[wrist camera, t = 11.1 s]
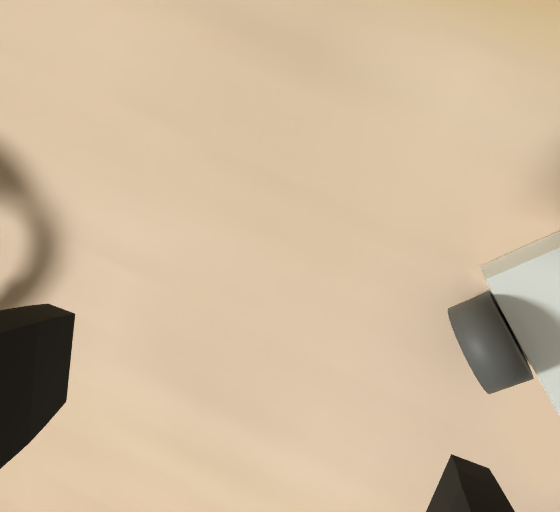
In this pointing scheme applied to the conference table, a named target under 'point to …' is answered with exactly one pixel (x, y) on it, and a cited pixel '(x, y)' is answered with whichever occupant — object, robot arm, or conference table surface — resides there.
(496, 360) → the trolley deck
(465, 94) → the conference table surface
